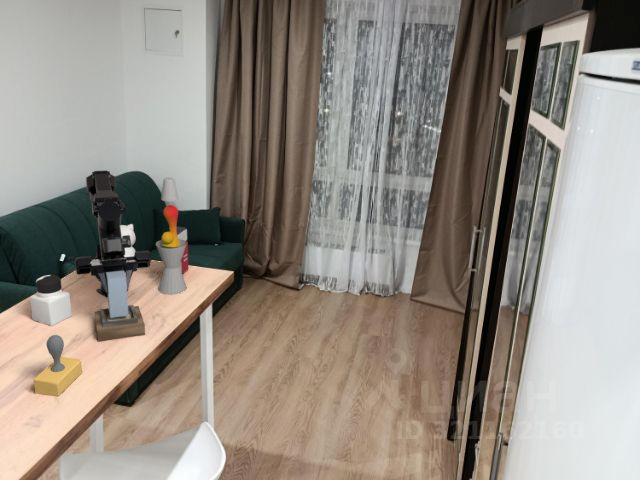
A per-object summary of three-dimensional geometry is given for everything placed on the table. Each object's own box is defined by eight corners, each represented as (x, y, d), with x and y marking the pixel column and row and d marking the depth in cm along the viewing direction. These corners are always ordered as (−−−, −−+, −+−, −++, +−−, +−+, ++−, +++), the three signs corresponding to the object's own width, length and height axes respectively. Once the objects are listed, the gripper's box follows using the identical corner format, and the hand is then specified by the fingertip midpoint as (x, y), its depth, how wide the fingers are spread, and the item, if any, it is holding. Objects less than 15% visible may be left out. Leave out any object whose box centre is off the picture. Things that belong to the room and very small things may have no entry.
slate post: (108, 310, 159) (106, 272, 155) (126, 308, 161) (124, 270, 157) (110, 317, 155) (107, 279, 151) (128, 315, 157) (126, 277, 153)
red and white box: (175, 282, 189) (174, 238, 184) (163, 280, 190) (161, 236, 185) (189, 269, 199) (188, 227, 194) (177, 268, 200) (176, 225, 195)
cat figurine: (142, 262, 203) (139, 220, 198) (130, 276, 192) (127, 232, 187) (115, 261, 203) (112, 219, 198) (102, 275, 191) (99, 231, 186)
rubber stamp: (59, 369, 139) (54, 324, 135) (83, 372, 139) (78, 327, 135) (34, 393, 130) (28, 345, 126) (59, 397, 129) (53, 348, 125)
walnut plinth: (95, 321, 162) (93, 307, 161) (139, 315, 167) (138, 302, 165) (98, 341, 152) (97, 327, 151) (145, 334, 157) (144, 320, 155)
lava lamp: (170, 280, 190) (166, 173, 178) (193, 286, 187) (191, 177, 175) (151, 290, 182) (146, 179, 171) (175, 297, 179) (171, 183, 167)
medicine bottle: (72, 316, 164) (68, 276, 160) (51, 326, 158) (46, 285, 154) (53, 310, 167) (49, 270, 163) (32, 320, 161) (27, 279, 157)
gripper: (72, 227, 150) (78, 285, 144) (148, 222, 157) (157, 276, 151) (73, 246, 159) (79, 301, 153) (145, 240, 166) (153, 292, 161)
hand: (117, 292), depth 155 cm, fingers closed on slate post, 4 cm apart
